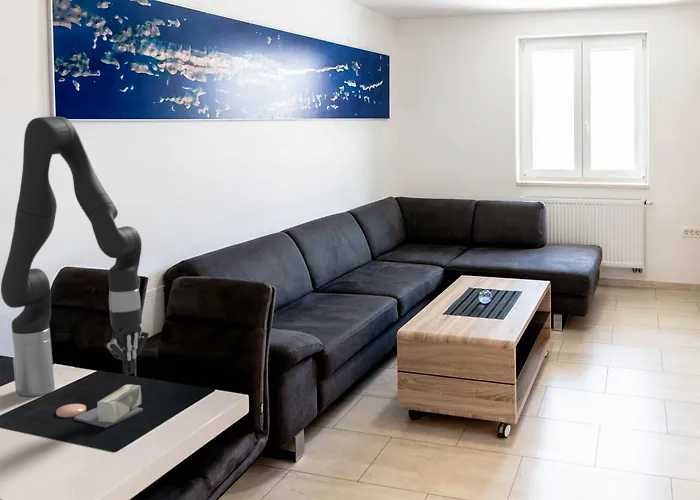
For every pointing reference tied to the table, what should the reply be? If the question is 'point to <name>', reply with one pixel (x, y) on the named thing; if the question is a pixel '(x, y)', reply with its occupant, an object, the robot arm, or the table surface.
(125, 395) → the box
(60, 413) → the glossy peach dome
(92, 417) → the mat
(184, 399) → the table surface
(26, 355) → the robot arm
